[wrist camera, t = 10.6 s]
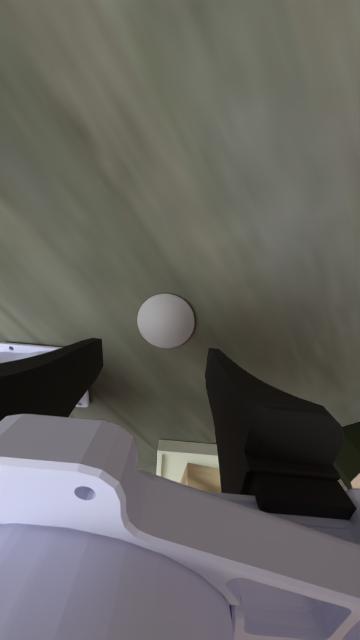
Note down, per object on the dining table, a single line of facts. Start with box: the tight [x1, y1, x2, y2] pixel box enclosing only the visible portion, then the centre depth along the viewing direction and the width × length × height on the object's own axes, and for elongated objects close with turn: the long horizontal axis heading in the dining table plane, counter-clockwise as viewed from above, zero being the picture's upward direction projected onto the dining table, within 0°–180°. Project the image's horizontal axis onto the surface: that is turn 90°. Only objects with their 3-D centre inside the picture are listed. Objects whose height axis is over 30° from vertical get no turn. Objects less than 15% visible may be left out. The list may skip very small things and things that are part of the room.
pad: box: [137, 293, 195, 348], centre depth 19 cm, size 6×6×1 cm
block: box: [180, 463, 221, 493], centre depth 23 cm, size 4×4×5 cm
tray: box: [156, 439, 220, 483], centre depth 25 cm, size 12×12×2 cm
